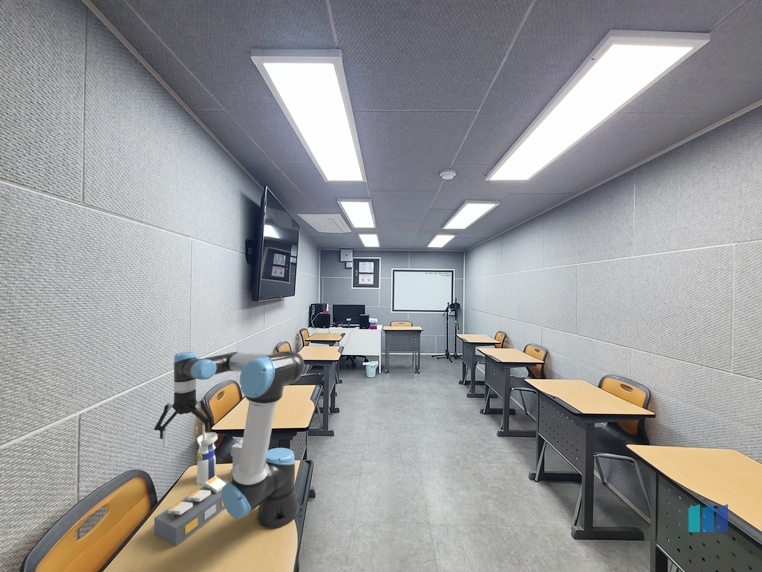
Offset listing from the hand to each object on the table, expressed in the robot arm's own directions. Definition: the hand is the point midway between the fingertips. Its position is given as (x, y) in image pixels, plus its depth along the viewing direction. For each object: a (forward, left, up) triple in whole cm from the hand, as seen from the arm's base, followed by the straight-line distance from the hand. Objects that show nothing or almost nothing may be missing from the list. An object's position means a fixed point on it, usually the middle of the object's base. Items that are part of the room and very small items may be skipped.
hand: (185, 442), depth 119 cm
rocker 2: (-13, +3, -16) cm, 21 cm away
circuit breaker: (-12, -22, -24) cm, 35 cm away
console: (-13, +3, -24) cm, 27 cm away
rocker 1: (-13, +10, -16) cm, 23 cm away
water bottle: (+5, -13, -24) cm, 28 cm away
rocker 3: (-13, -4, -16) cm, 21 cm away
